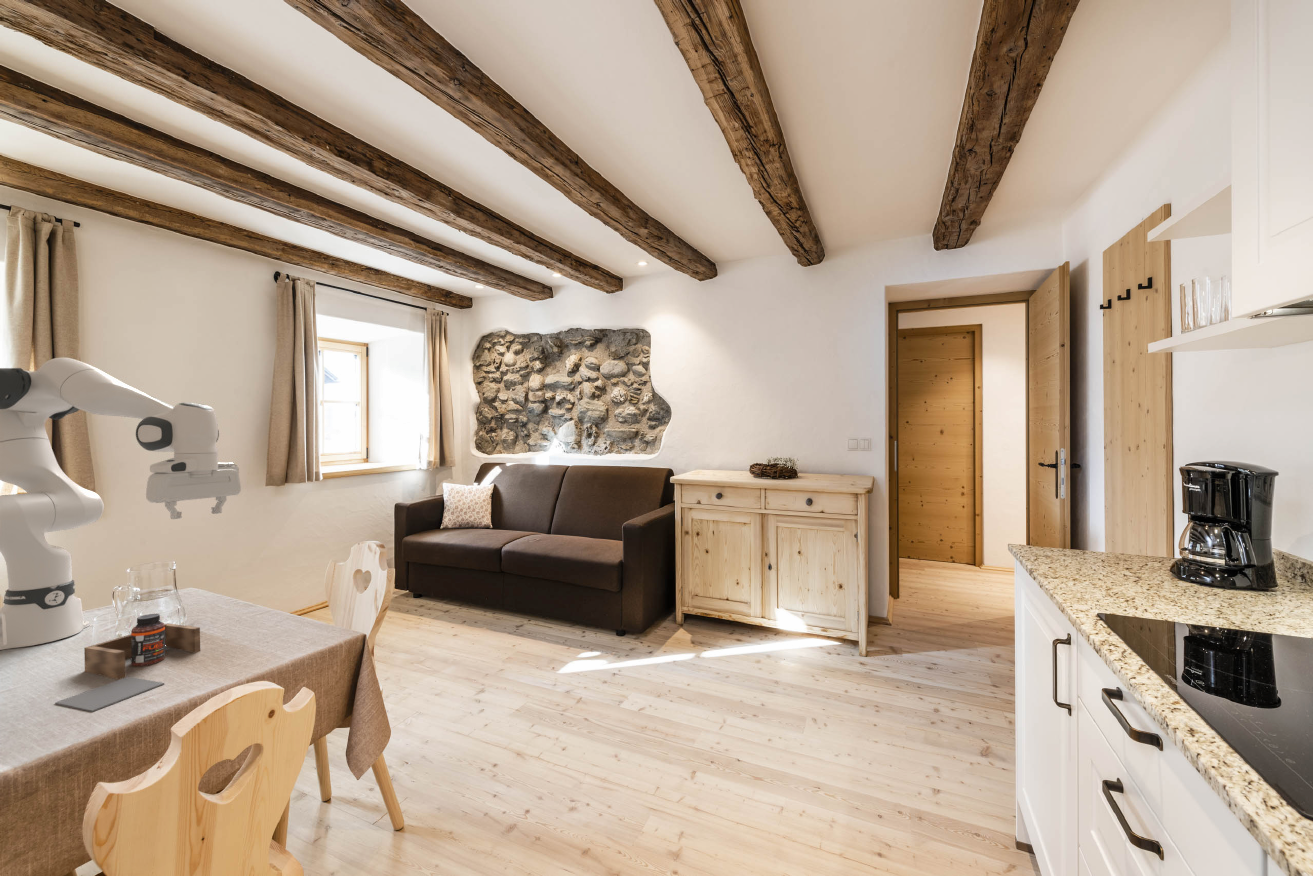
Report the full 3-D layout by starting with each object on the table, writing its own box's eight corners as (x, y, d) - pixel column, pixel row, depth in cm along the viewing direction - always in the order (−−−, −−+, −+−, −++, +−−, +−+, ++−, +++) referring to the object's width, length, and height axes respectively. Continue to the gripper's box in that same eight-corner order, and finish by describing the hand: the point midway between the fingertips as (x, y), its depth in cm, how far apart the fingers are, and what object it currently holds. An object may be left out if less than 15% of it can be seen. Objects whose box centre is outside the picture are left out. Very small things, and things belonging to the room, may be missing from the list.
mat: (55, 704, 108) (55, 702, 108) (128, 677, 119) (128, 676, 119) (92, 712, 104) (92, 710, 104) (164, 684, 116) (164, 683, 116)
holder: (84, 673, 122) (84, 647, 122) (168, 646, 137) (167, 623, 137) (118, 679, 118) (118, 653, 118) (200, 650, 134) (199, 627, 134)
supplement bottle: (143, 668, 124) (142, 621, 124) (124, 666, 125) (123, 619, 125) (171, 658, 130) (171, 612, 130) (153, 656, 131) (152, 611, 131)
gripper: (230, 461, 150) (230, 510, 150) (141, 466, 130) (142, 521, 130) (246, 462, 148) (246, 511, 148) (158, 466, 128) (159, 522, 128)
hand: (197, 516), depth 139 cm, fingers open, 8 cm apart
